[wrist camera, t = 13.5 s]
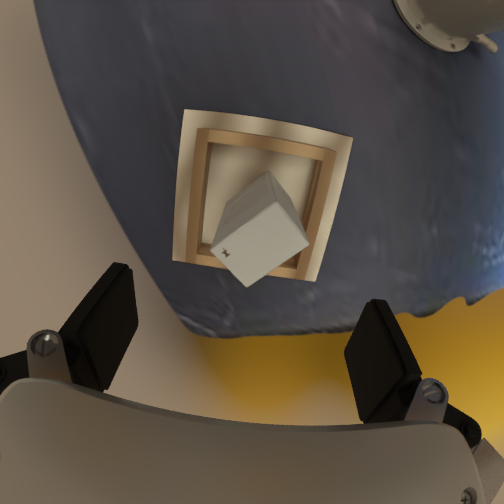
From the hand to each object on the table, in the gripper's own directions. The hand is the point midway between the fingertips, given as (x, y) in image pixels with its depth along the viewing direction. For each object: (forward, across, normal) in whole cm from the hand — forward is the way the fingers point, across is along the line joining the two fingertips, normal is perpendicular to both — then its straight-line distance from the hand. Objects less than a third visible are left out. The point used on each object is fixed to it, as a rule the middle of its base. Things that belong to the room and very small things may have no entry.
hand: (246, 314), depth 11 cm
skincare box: (+21, 0, +2) cm, 21 cm away
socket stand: (+23, 0, +2) cm, 23 cm away
